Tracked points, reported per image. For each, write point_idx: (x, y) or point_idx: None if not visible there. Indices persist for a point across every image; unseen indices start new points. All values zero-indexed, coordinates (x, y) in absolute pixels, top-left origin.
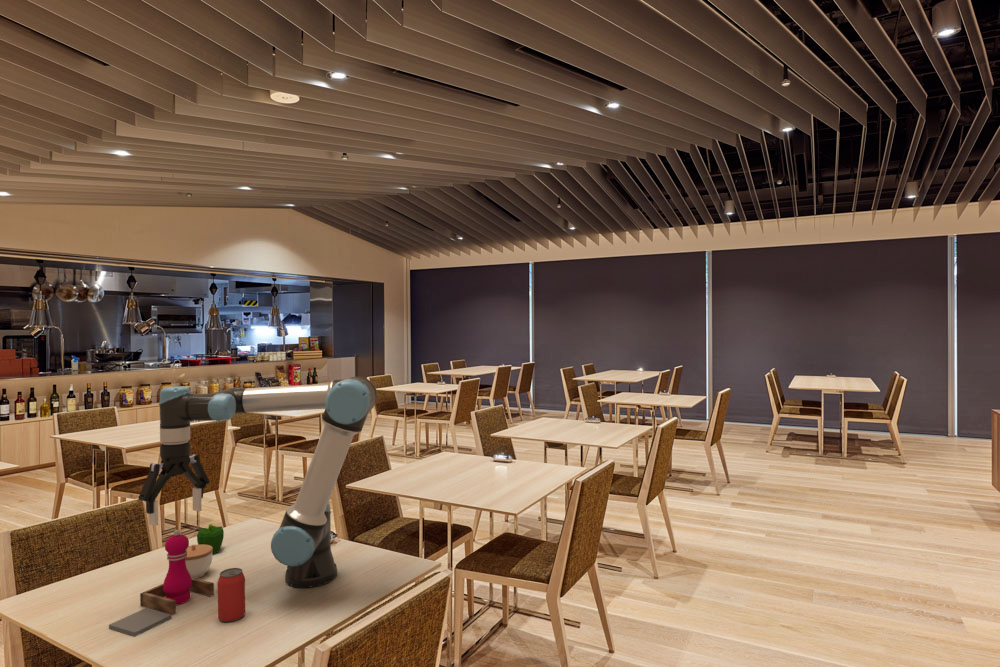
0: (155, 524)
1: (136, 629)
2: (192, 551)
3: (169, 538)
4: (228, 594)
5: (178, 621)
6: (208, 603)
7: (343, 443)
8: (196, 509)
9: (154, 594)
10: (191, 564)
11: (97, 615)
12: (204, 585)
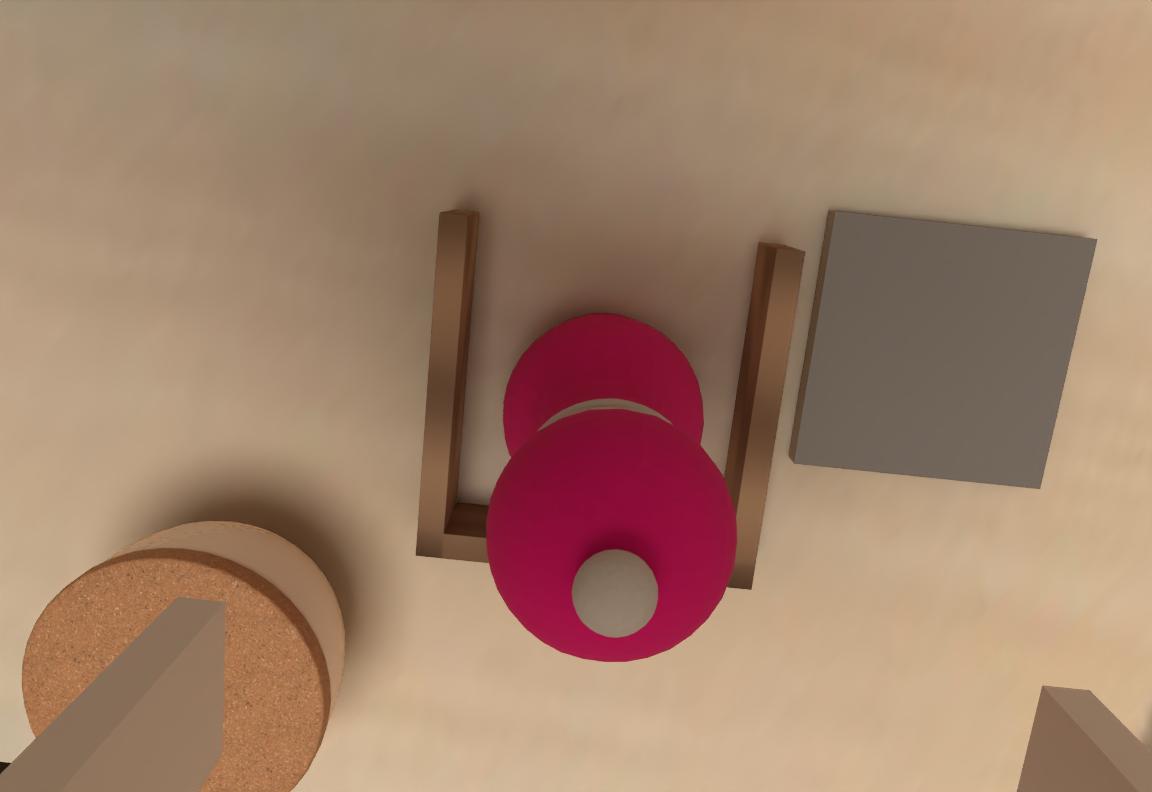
0: (1096, 703)
1: (1060, 265)
2: None
3: (684, 611)
4: None
5: (849, 130)
6: (572, 141)
7: None
8: (213, 682)
9: None
10: (303, 584)
11: (902, 690)
12: (465, 284)
